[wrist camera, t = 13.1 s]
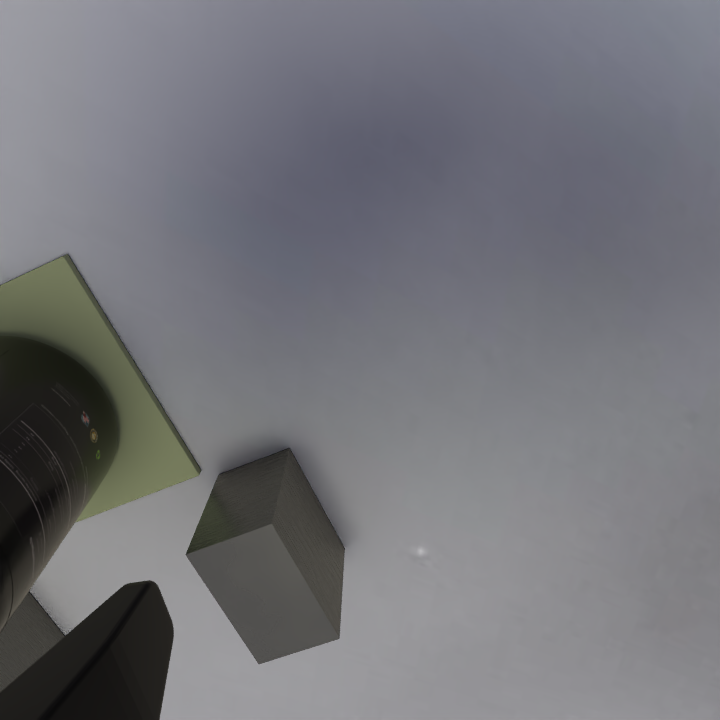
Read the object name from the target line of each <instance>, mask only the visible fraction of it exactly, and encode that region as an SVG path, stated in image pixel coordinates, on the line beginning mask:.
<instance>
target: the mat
mask: <svg viewBox="0 0 720 720" xmlns="http://www.w3.org/2000/svg"><path fill="white" fill-rule="evenodd" d="M0 336H17V337H23V338H28V339H32V340H35V341H39V342H42V343H45V344H47V345H50V346H52V347H54V348H56V349H58V350H60V351H62V352H64V353H65V354H67V355H69V356H70V357H72V358H73V359H75V360H76V361H77V362H78V363H80V364H81V365H82V366H83V367H84V368H85V369H87V370H88V371H89V372H90V373H91V374H92V376H93V377H94V378H95V379H96V380H97V381H98V383H99V384H100V385H101V387H102V388H103V390H104V392H105V393H106V395H107V397H108V399H109V401H110V403H111V405H112V408H113V411H114V414H115V418H116V422H117V429H118V441H117V449H116V454H115V457H114V460H113V463H112V465H111V467H110V469H109V471H108V473H107V475H106V476H105V478H104V479H103V481H102V482H101V484H100V486H99V487H98V489H97V490H96V492H95V494H94V495H93V497H92V498H91V500H90V501H89V502H88V504H87V505H86V507H85V508H84V510H83V511H82V513H81V514H80V516H79V517H78V519H77V520H76V522H78V521H81V520H83V519H86V518H88V517H91V516H94V515H96V514H99V513H102V512H104V511H107V510H109V509H112V508H115V507H117V506H120V505H122V504H125V503H128V502H130V501H133V500H136V499H138V498H141V497H143V496H146V495H149V494H151V493H154V492H157V491H159V490H162V489H164V488H167V487H170V486H172V485H175V484H178V483H180V482H183V481H185V480H188V479H191V478H193V477H196V476H198V475H199V474H200V472H201V470H200V468H199V467H198V465H197V463H196V462H195V460H194V458H193V457H192V455H191V454H190V452H189V450H188V449H187V447H186V445H185V444H184V442H183V441H182V439H181V437H180V436H179V434H178V433H177V431H176V429H175V428H174V426H173V424H172V423H171V421H170V420H169V418H168V416H167V415H166V413H165V411H164V410H163V408H162V407H161V405H160V403H159V402H158V400H157V398H156V397H155V395H154V394H153V392H152V390H151V389H150V387H149V386H148V384H147V382H146V381H145V379H144V377H143V376H142V374H141V373H140V371H139V369H138V368H137V366H136V364H135V363H134V361H133V360H132V358H131V356H130V355H129V353H128V352H127V350H126V348H125V347H124V345H123V343H122V342H121V340H120V339H119V337H118V335H117V334H116V332H115V330H114V329H113V327H112V326H111V324H110V322H109V321H108V319H107V318H106V316H105V314H104V313H103V311H102V309H101V308H100V306H99V305H98V303H97V301H96V300H95V298H94V296H93V295H92V293H91V292H90V290H89V288H88V287H87V285H86V284H85V282H84V280H83V279H82V277H81V275H80V274H79V272H78V271H77V269H76V267H75V266H74V264H73V262H72V261H71V259H70V258H69V256H68V254H67V255H64V256H62V257H60V258H58V259H56V260H54V261H52V262H49V263H47V264H45V265H43V266H41V267H39V268H37V269H34V270H32V271H30V272H28V273H26V274H24V275H22V276H19V277H17V278H15V279H13V280H11V281H9V282H7V283H5V284H2V285H0Z"/></svg>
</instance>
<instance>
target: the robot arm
mask: <svg viewBox="0 0 720 720" xmlns="http://www.w3.org/2000/svg"><path fill="white" fill-rule="evenodd" d="M173 637H174V630H173V623H172V620H171V617H170V615H169V612H168V610H167V607H166V605H165V602H164V600H163V597H162V594H161V592H160V589H159V587H158V585H157V584H156V583H155V582H153V581H142V582H134V583H129V584H126V585H124V586H123V587H121V588H120V589H119V590H118V591H117V592H116V593H114V594H113V595H112V596H111V597H110V598H109V599H108V600H106V601H105V602H104V603H103V604H102V605H101V606H99V607H98V608H97V609H96V610H95V611H94V612H92V613H91V614H90V615H89V616H88V617H87V618H86V619H84V620H83V621H82V622H81V623H80V624H79V625H77V626H76V627H75V628H74V629H73V630H72V631H71V632H69V633H68V634H67V635H66V636H65V637H64V638H62V639H61V640H60V641H59V642H58V643H57V644H55V645H54V646H53V647H52V648H51V649H50V650H48V651H47V652H46V653H45V654H44V655H43V656H42V657H40V658H39V659H38V660H37V661H36V662H35V663H33V664H32V665H31V666H30V667H29V668H28V669H26V670H25V671H24V672H23V673H22V674H21V675H20V676H18V677H17V678H16V679H15V680H14V681H13V682H11V683H10V684H9V685H8V686H7V687H6V688H4V689H3V690H2V691H1V692H0V720H159V719H160V713H161V707H162V702H163V696H164V690H165V684H166V679H167V673H168V667H169V661H170V656H171V650H172V644H173Z"/></svg>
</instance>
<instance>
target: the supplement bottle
mask: <svg viewBox="0 0 720 720" xmlns="http://www.w3.org/2000/svg"><path fill="white" fill-rule="evenodd" d="M117 441H118V429H117V422H116V418H115V414H114V411H113V408H112V405H111V403H110V401H109V399H108V397H107V395H106V393H105V392H104V390H103V388H102V387H101V385H100V384H99V383H98V381H97V380H96V379H95V378H94V377H93V376H92V374H91V373H90V372H89V371H88V370H87V369H85V368H84V367H83V366H82V365H81V364H80V363H78V362H77V361H76V360H75V359H73V358H72V357H70V356H69V355H67V354H65V353H64V352H62V351H60V350H58V349H56V348H54V347H52V346H50V345H47V344H45V343H42V342H39V341H35V340H32V339H28V338H23V337H17V336H0V633H1V632H2V630H3V629H4V627H5V626H6V624H7V623H8V621H9V620H10V618H11V617H12V616H13V614H14V613H15V611H16V610H17V608H18V607H19V605H20V604H21V602H22V601H23V599H24V598H25V596H26V595H27V593H28V592H29V590H30V589H31V587H32V586H33V584H34V583H35V581H36V580H37V578H38V577H39V575H40V574H41V572H42V571H43V569H44V568H45V566H46V565H47V563H48V562H49V561H50V559H51V558H52V556H53V555H54V553H55V552H56V550H57V549H58V547H59V546H60V544H61V543H62V541H63V540H64V538H65V537H66V535H67V534H68V532H69V531H70V529H71V528H72V526H73V525H74V523H75V522H76V520H77V519H78V517H79V516H80V514H81V513H82V511H83V510H84V508H85V507H86V505H87V504H88V502H89V501H90V500H91V498H92V497H93V495H94V494H95V492H96V490H97V489H98V487H99V486H100V484H101V482H102V481H103V479H104V478H105V476H106V475H107V473H108V471H109V469H110V467H111V465H112V463H113V460H114V457H115V454H116V449H117Z"/></svg>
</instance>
